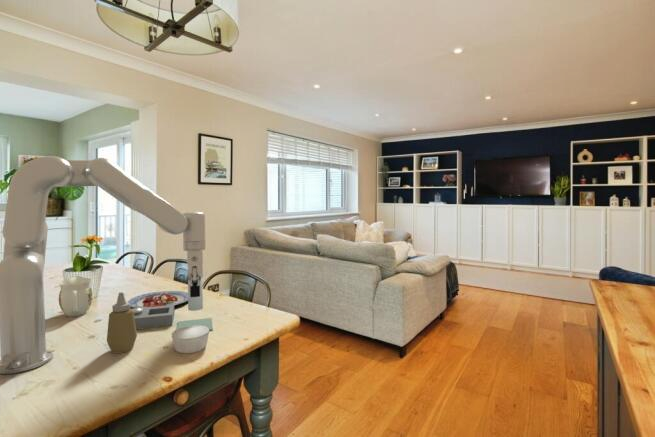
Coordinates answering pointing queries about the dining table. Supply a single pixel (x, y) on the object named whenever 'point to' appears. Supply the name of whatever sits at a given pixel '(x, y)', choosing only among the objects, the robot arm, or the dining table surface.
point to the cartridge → (195, 302)
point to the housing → (155, 317)
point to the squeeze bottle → (121, 326)
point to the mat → (196, 323)
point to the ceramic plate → (158, 299)
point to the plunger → (137, 310)
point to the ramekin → (190, 338)
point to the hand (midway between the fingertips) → (195, 294)
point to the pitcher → (75, 296)
